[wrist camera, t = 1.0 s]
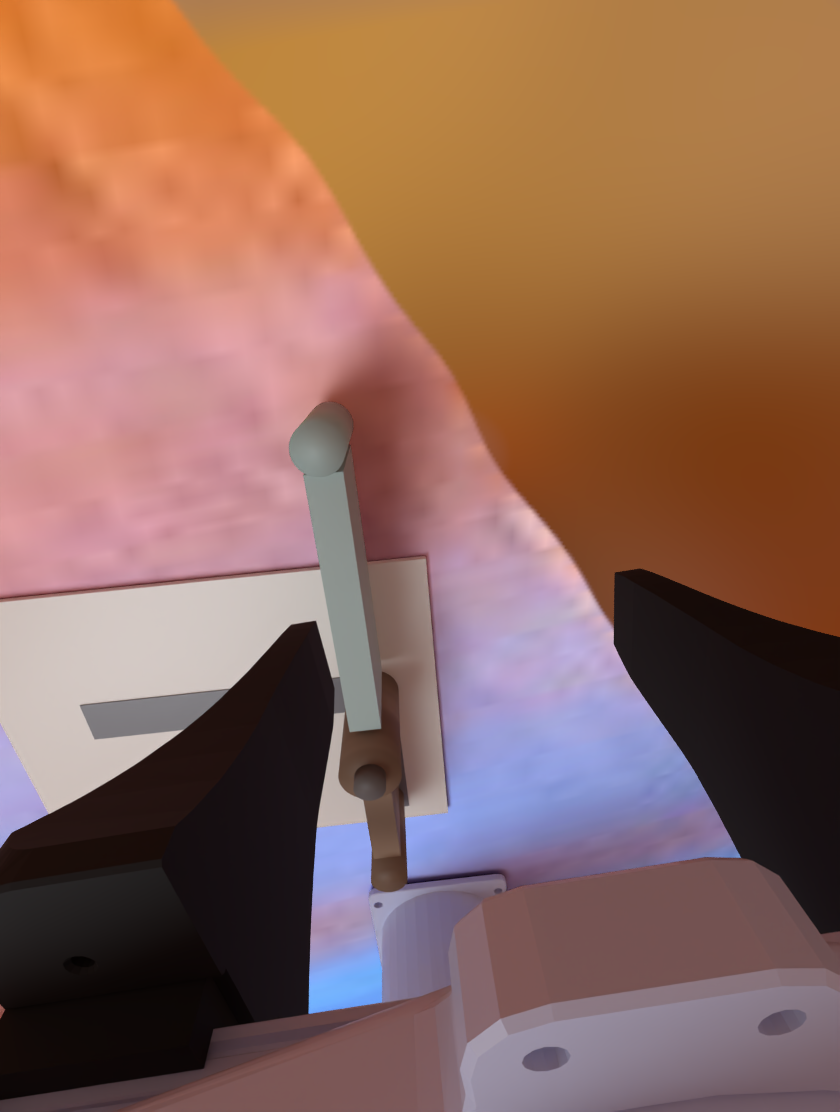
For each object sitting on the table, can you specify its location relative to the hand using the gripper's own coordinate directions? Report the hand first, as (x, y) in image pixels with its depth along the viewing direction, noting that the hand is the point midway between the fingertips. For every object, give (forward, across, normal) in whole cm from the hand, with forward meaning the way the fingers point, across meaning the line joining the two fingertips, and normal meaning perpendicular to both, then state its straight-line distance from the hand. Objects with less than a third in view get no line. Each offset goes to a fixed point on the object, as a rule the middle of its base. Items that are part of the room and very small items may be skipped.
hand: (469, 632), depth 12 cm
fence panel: (+9, +4, +1) cm, 9 cm away
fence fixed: (+9, +4, +12) cm, 15 cm away
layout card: (+9, +11, +9) cm, 17 cm away
